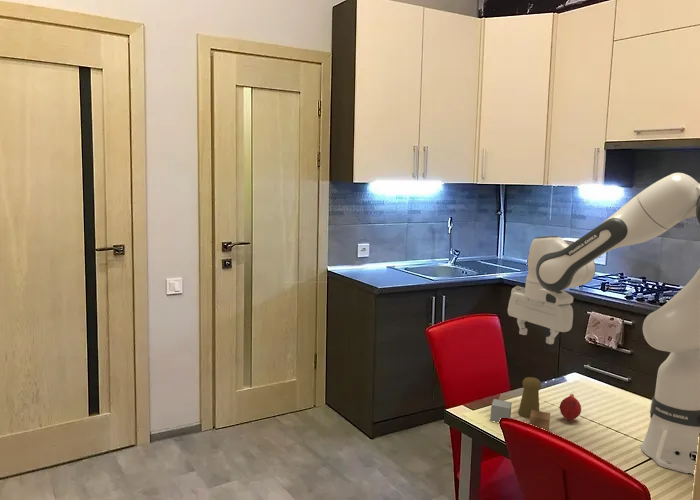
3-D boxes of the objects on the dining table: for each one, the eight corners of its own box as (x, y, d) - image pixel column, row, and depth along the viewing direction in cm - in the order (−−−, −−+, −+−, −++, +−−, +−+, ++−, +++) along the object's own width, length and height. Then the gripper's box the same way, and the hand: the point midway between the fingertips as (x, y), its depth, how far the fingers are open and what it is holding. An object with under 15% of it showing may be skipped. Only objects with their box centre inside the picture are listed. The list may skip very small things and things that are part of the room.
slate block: (510, 418, 171) (511, 402, 170) (508, 425, 166) (509, 408, 165) (492, 415, 172) (493, 398, 172) (490, 421, 168) (491, 404, 167)
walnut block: (548, 430, 164) (550, 413, 164) (547, 437, 160) (549, 419, 159) (529, 426, 166) (531, 409, 165) (528, 433, 161) (530, 416, 161)
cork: (542, 419, 171) (546, 382, 170) (521, 418, 171) (524, 381, 170) (536, 411, 177) (539, 375, 175) (515, 409, 177) (519, 374, 176)
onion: (581, 426, 168) (584, 399, 167) (560, 423, 169) (562, 396, 168) (577, 418, 174) (580, 391, 172) (557, 415, 175) (560, 389, 174)
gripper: (505, 285, 176) (500, 330, 178) (564, 300, 159) (558, 350, 161) (519, 283, 179) (515, 328, 181) (578, 298, 163) (573, 347, 165)
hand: (536, 338), depth 171 cm, fingers open, 8 cm apart
